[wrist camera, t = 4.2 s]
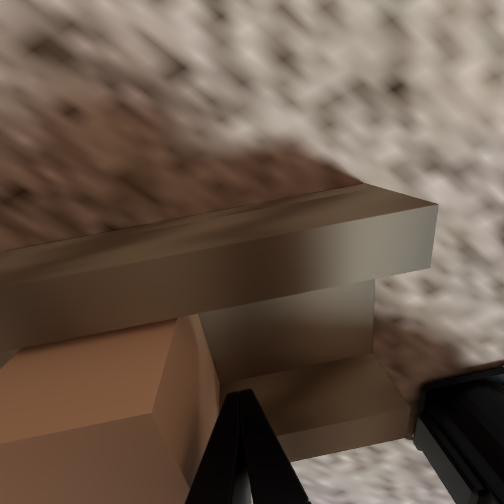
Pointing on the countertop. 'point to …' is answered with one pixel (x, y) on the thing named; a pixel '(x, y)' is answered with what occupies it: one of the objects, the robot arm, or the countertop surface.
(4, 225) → the countertop surface
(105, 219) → the countertop surface
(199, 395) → the block
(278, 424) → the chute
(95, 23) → the countertop surface
